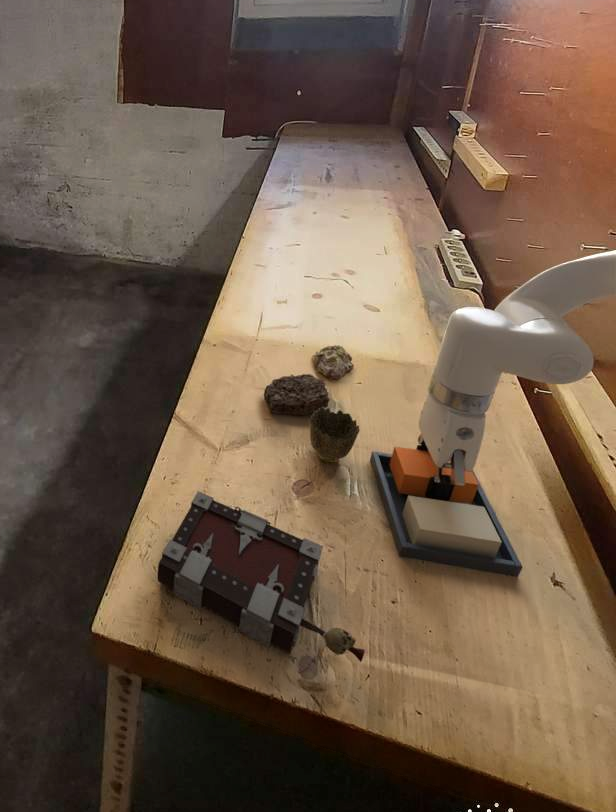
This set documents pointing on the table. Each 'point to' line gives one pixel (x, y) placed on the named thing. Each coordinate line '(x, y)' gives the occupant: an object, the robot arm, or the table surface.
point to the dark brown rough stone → (296, 394)
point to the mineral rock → (333, 361)
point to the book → (246, 574)
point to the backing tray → (394, 507)
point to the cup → (332, 434)
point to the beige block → (450, 526)
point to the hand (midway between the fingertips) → (429, 480)
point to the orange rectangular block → (425, 475)
